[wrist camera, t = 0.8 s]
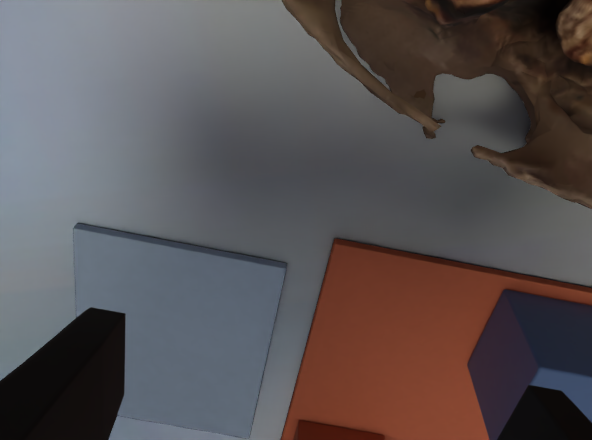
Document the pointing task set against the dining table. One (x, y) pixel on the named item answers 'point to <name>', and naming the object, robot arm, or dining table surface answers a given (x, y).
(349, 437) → the rust block
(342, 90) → the dining table surface
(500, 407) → the blue block
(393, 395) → the rust mat
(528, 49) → the food dish
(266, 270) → the blue mat
